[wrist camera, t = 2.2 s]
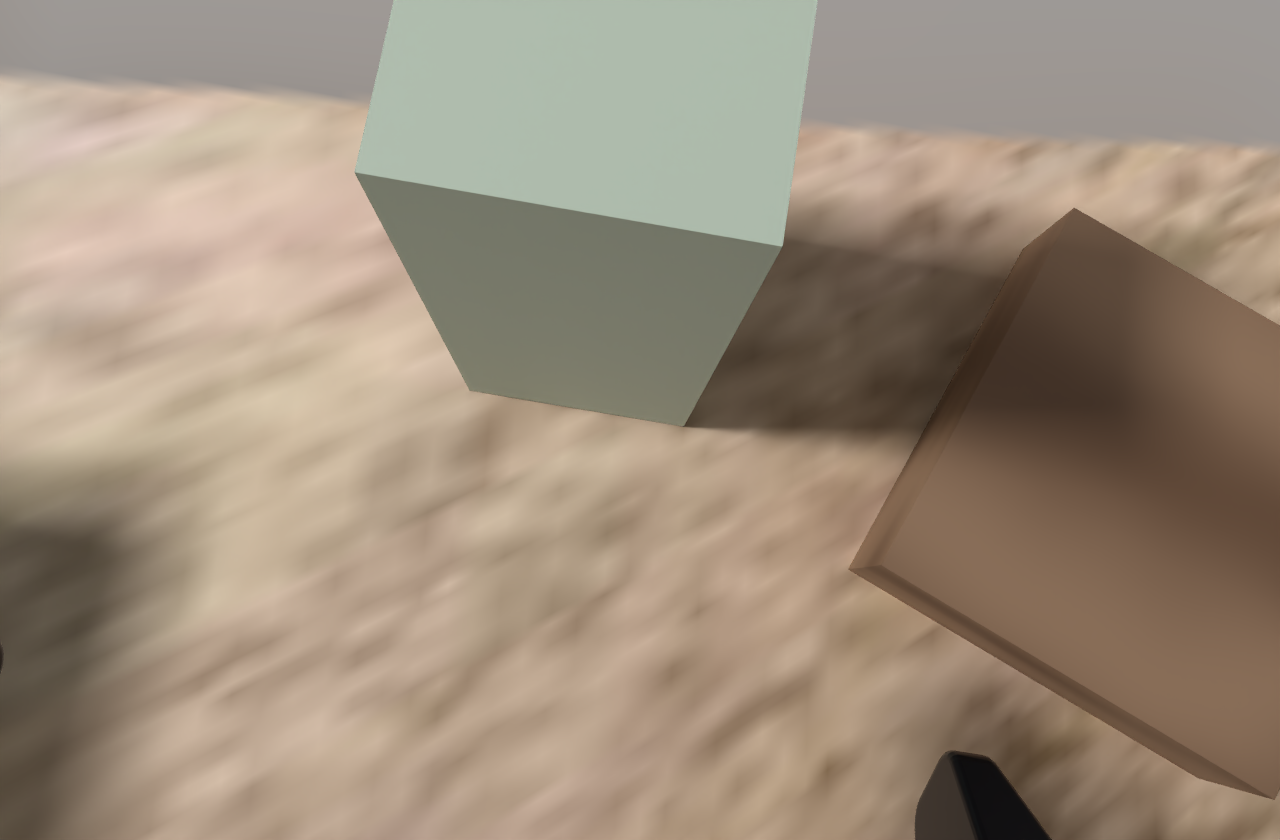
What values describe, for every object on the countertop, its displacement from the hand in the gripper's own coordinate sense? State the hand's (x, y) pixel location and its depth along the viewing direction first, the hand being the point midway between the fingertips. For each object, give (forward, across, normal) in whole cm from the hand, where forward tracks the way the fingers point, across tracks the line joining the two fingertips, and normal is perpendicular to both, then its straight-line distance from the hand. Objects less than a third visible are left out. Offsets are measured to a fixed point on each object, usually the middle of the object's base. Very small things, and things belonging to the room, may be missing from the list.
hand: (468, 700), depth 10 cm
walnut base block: (+13, -12, +6) cm, 19 cm away
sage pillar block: (+15, 0, +4) cm, 15 cm away
